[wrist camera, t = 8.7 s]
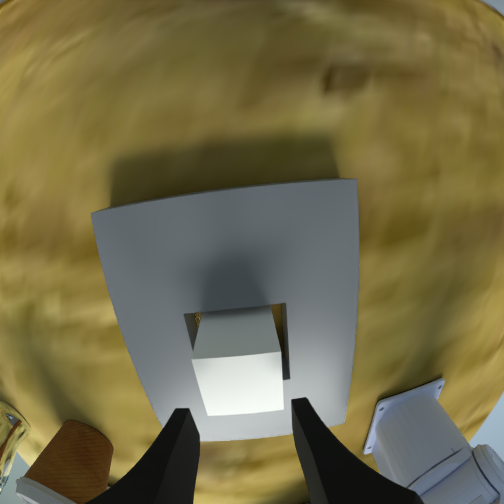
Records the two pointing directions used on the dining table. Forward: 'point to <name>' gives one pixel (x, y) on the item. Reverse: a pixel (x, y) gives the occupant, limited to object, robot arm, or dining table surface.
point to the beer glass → (10, 438)
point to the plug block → (238, 361)
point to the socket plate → (238, 290)
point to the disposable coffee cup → (68, 468)
